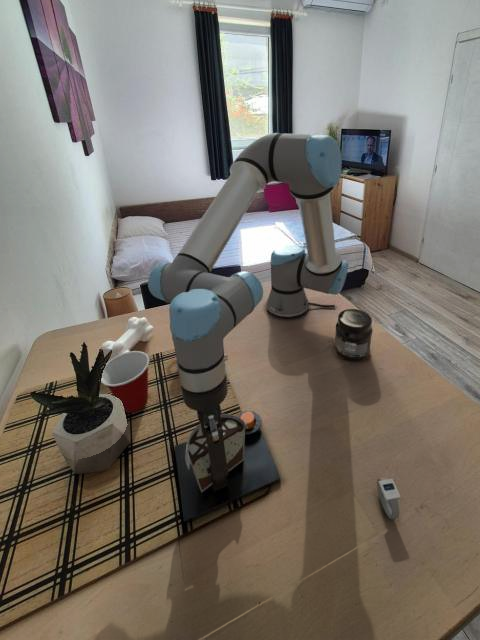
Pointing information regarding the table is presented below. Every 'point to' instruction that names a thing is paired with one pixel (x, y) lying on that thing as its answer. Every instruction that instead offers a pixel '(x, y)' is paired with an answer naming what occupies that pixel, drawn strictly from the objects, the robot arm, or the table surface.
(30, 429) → the table surface
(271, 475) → the scale
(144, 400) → the plastic cup
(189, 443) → the slice of cake
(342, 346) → the supplement container
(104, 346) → the bone shaped toy
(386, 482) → the wristwatch
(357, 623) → the table surface
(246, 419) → the tare button
